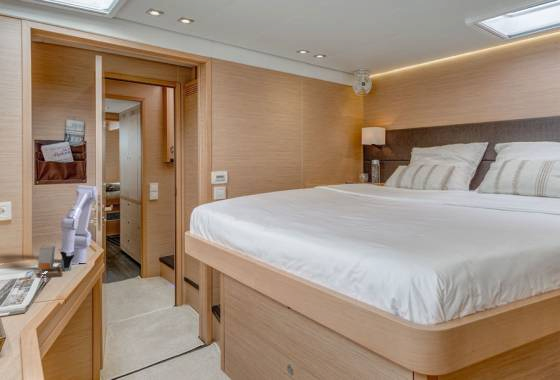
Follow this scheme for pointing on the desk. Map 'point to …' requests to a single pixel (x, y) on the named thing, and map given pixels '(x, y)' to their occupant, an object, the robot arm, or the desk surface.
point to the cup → (63, 266)
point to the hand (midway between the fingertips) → (66, 266)
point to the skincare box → (46, 257)
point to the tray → (52, 272)
